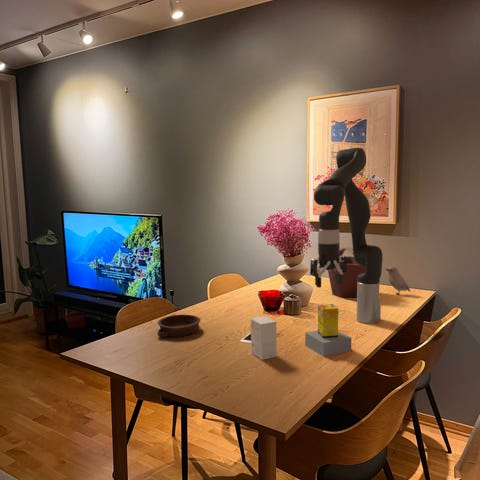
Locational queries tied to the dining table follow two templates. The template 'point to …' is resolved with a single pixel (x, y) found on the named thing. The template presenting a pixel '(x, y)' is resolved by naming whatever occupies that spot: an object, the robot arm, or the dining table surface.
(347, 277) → the bucket
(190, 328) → the dish
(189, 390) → the dining table surface
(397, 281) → the bird
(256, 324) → the small box
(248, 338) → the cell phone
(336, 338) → the base block
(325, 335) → the supplement box
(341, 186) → the robot arm
